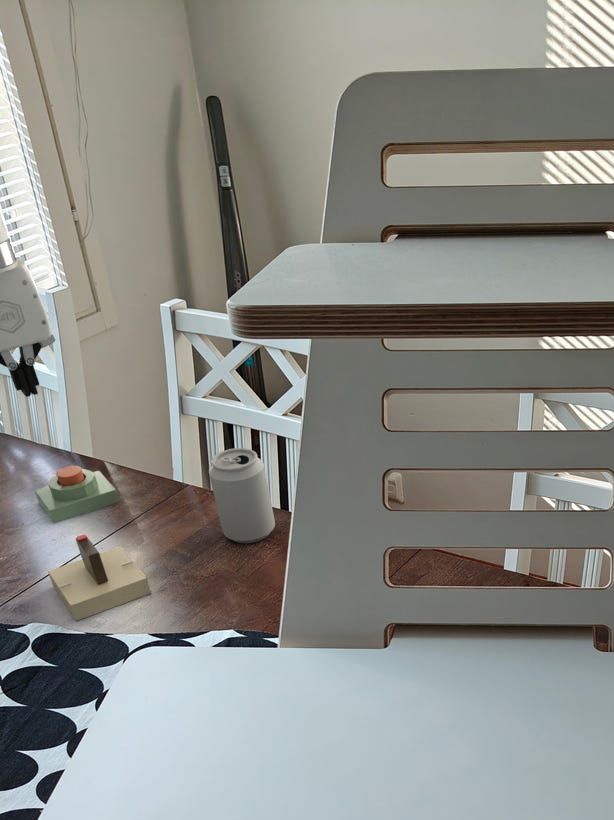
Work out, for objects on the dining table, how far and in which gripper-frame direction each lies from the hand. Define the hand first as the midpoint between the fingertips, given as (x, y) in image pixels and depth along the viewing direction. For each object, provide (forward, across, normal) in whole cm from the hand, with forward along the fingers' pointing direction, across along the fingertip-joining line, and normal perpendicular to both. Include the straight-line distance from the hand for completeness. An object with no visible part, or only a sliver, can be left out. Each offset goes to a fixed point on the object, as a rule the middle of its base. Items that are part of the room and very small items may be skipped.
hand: (29, 392), depth 136 cm
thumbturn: (+17, -3, -24) cm, 29 cm away
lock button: (+15, +2, +2) cm, 16 cm away
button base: (+19, +2, +2) cm, 19 cm away
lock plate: (+19, -3, -24) cm, 31 cm away
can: (+19, +19, -23) cm, 36 cm away
